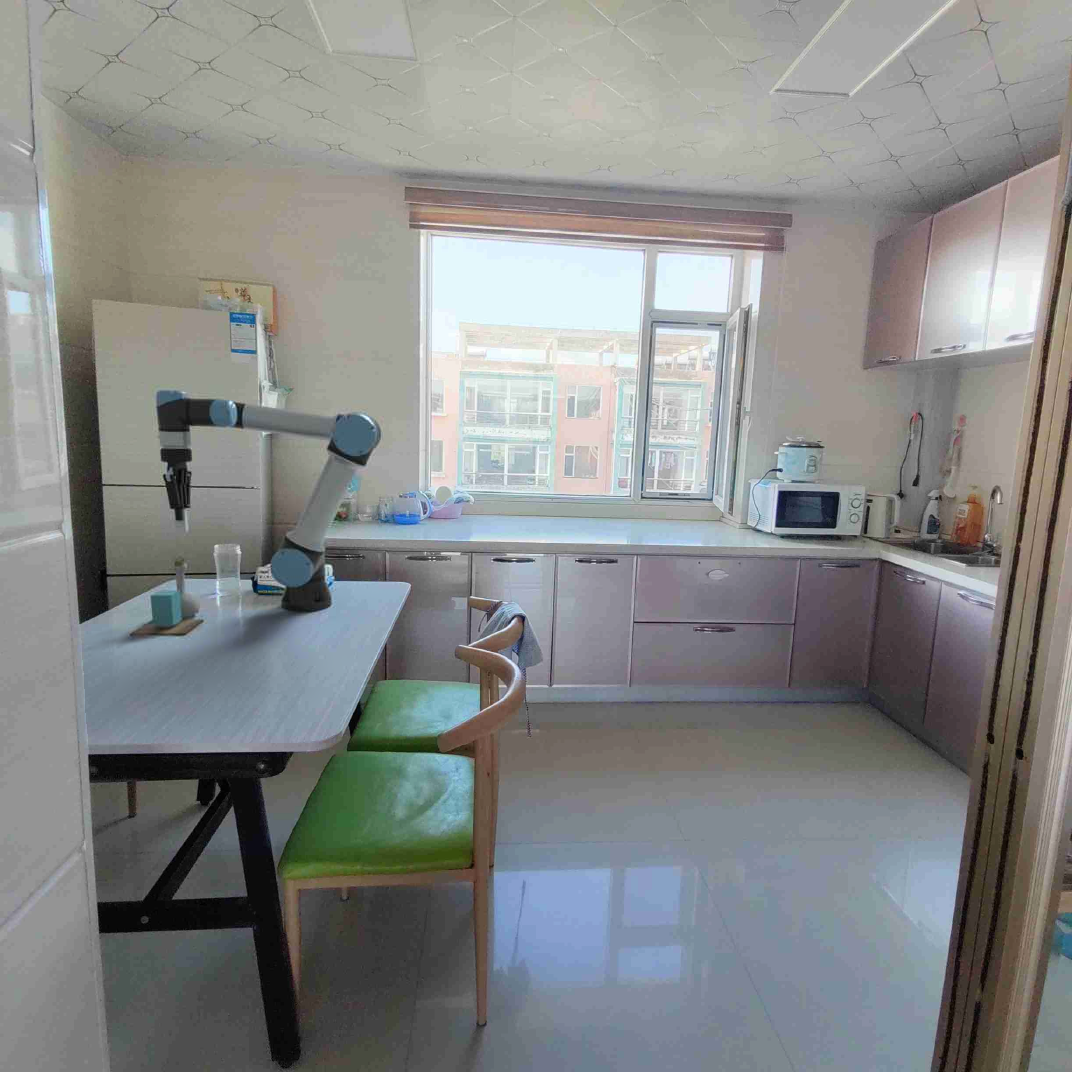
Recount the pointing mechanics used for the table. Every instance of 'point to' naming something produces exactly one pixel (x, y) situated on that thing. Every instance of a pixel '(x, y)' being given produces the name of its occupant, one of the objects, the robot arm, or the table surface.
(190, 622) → the board
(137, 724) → the table surface
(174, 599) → the teal boxy block
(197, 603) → the potion bottle
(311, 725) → the table surface
